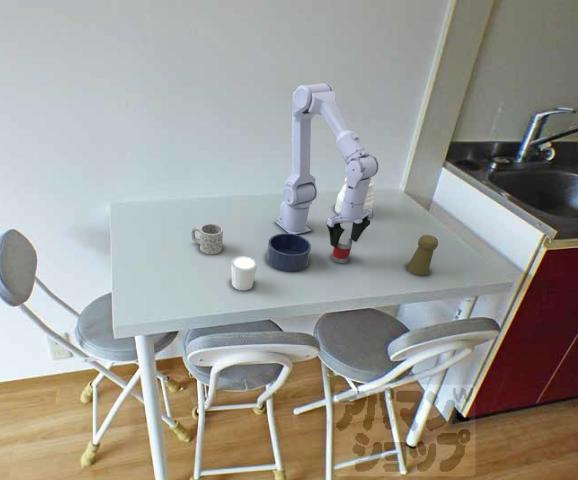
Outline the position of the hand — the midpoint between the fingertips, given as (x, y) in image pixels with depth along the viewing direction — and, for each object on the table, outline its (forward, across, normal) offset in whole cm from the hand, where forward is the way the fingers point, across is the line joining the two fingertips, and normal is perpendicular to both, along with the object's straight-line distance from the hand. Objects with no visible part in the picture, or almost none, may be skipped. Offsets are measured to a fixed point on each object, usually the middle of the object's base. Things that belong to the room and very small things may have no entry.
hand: (343, 243), depth 123 cm
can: (+6, 0, 0) cm, 6 cm away
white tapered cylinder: (+6, -33, +1) cm, 34 cm away
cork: (+6, +18, -14) cm, 23 cm away
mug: (+6, -34, +22) cm, 41 cm away
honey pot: (+6, +25, +23) cm, 35 cm away
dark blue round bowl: (+6, -15, +6) cm, 17 cm away
